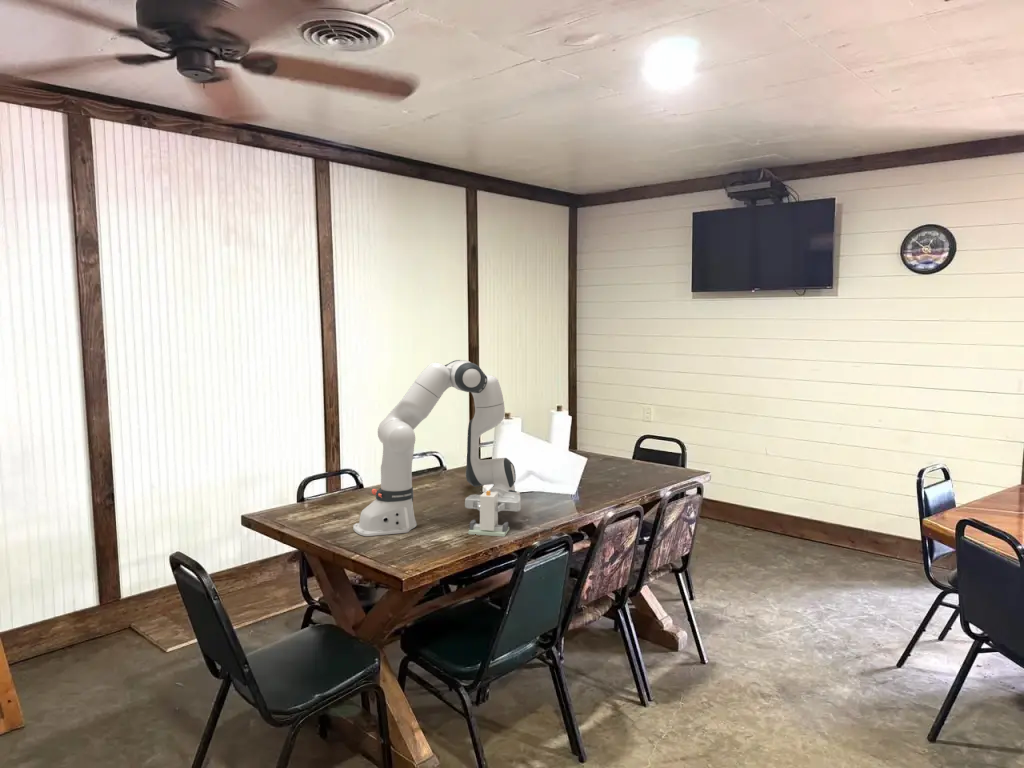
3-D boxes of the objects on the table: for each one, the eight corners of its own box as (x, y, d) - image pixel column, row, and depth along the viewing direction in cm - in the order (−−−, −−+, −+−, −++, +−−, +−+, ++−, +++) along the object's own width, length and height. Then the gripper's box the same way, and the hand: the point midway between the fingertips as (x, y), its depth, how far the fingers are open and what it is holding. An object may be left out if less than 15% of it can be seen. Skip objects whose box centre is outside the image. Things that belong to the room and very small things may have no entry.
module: (484, 524, 249) (484, 488, 248) (497, 525, 248) (497, 489, 247) (479, 529, 243) (479, 492, 241) (493, 530, 242) (493, 493, 240)
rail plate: (474, 527, 251) (474, 518, 250) (509, 529, 248) (509, 520, 248) (468, 534, 243) (468, 524, 242) (504, 536, 240) (504, 527, 240)
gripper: (470, 488, 259) (459, 498, 245) (523, 492, 255) (516, 501, 241) (470, 505, 260) (459, 515, 246) (523, 508, 256) (516, 519, 242)
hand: (488, 508), depth 244 cm, fingers closed on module, 5 cm apart
